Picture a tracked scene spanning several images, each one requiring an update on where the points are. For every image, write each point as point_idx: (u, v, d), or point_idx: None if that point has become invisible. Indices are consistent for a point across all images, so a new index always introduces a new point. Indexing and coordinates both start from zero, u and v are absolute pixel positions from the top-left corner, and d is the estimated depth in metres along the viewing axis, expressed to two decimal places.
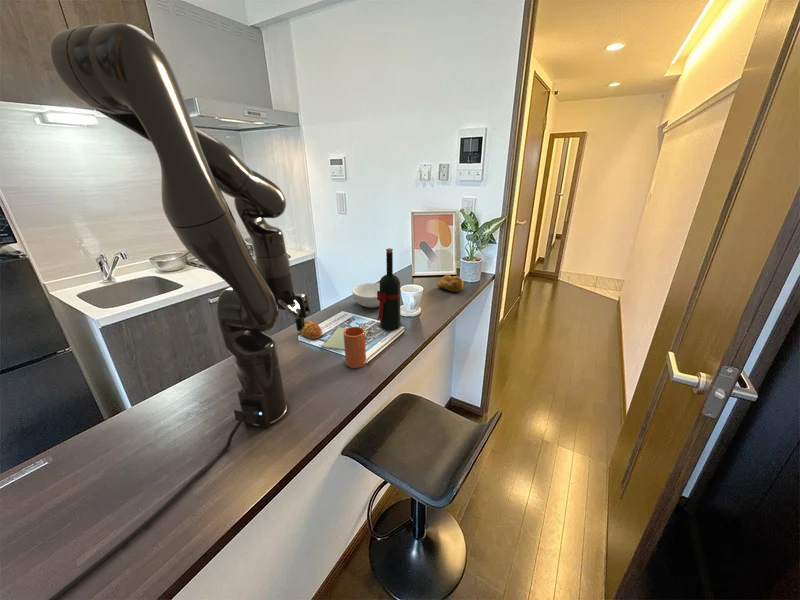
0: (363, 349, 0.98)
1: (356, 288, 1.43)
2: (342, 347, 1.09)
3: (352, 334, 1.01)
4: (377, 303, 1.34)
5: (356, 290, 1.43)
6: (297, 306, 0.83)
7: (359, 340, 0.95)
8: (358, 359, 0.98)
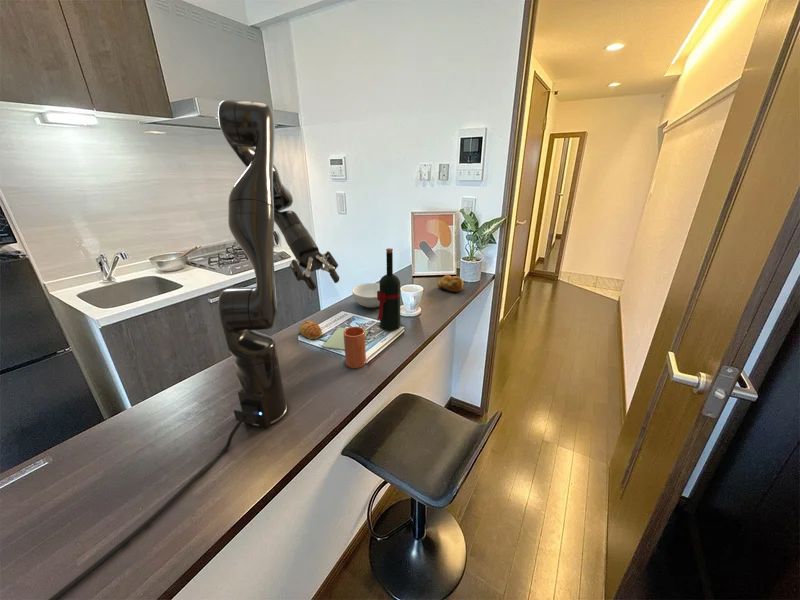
0: (363, 349, 0.98)
1: (356, 288, 1.43)
2: (342, 347, 1.09)
3: (352, 334, 1.01)
4: (377, 303, 1.34)
5: (356, 290, 1.43)
6: None
7: (359, 340, 0.95)
8: (358, 359, 0.98)
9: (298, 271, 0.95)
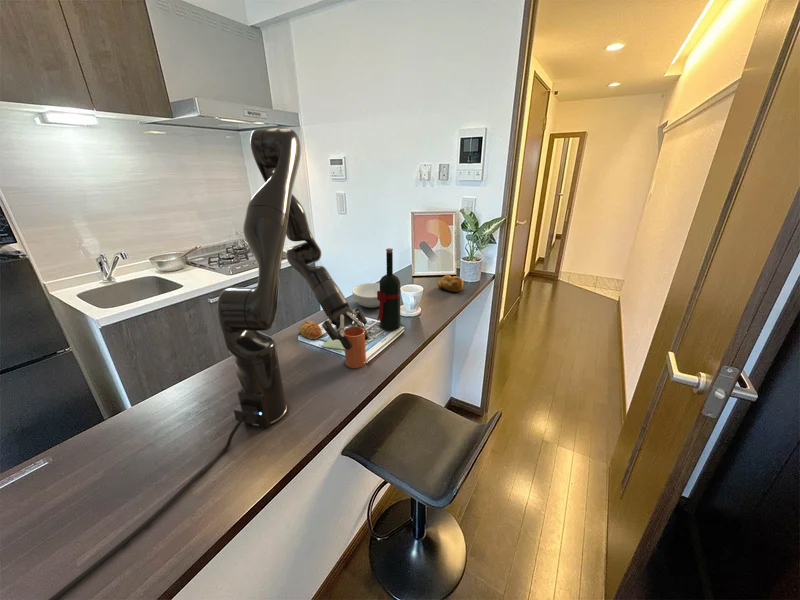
0: (363, 349, 0.98)
1: (356, 288, 1.43)
2: (342, 347, 1.09)
3: (352, 334, 1.01)
4: (377, 303, 1.34)
5: (356, 290, 1.43)
6: None
7: (359, 340, 0.95)
8: (358, 359, 0.98)
9: (333, 332, 0.93)
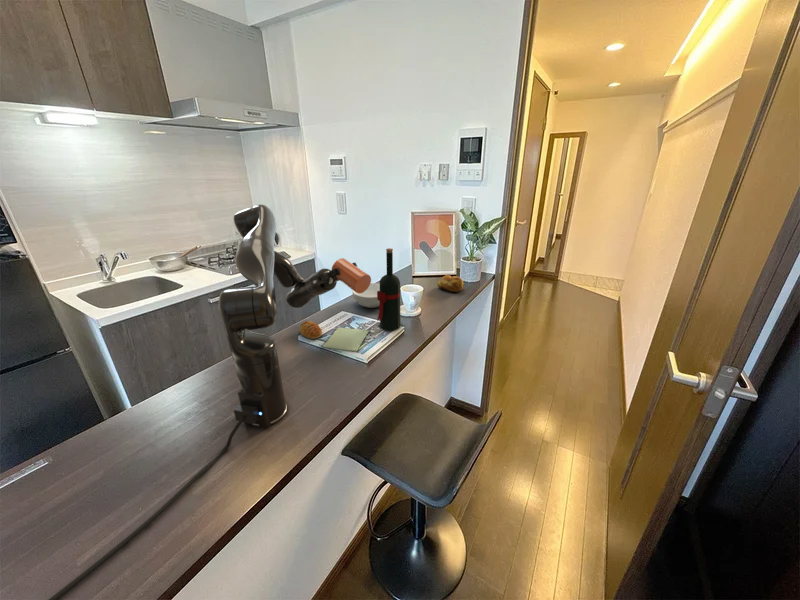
0: (353, 266, 0.97)
1: None
2: (342, 347, 1.09)
3: None
4: (377, 303, 1.34)
5: None
6: None
7: (341, 261, 0.98)
8: (354, 272, 0.95)
9: (319, 275, 0.99)
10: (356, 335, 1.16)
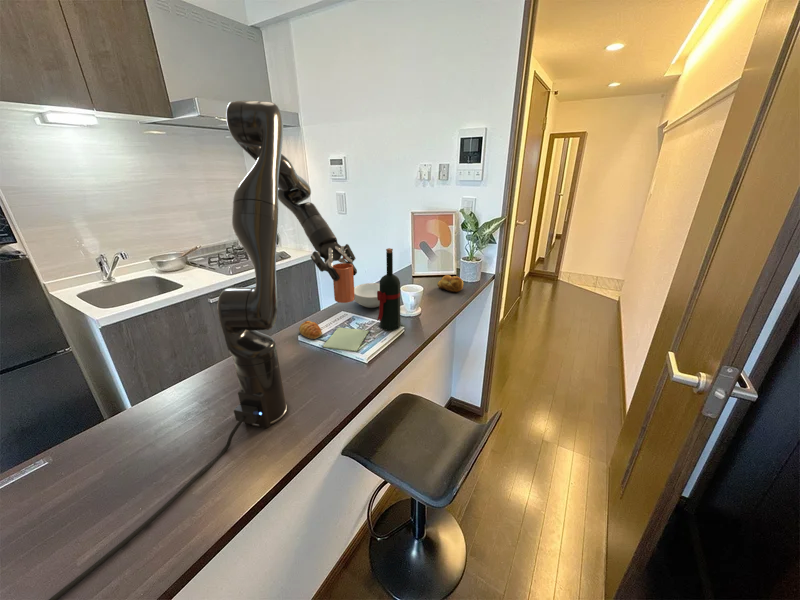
0: (351, 284, 1.00)
1: (356, 288, 1.43)
2: (342, 347, 1.09)
3: None
4: (377, 303, 1.34)
5: (356, 290, 1.43)
6: None
7: (347, 273, 0.98)
8: (346, 293, 1.00)
9: (321, 262, 0.96)
10: (356, 335, 1.16)
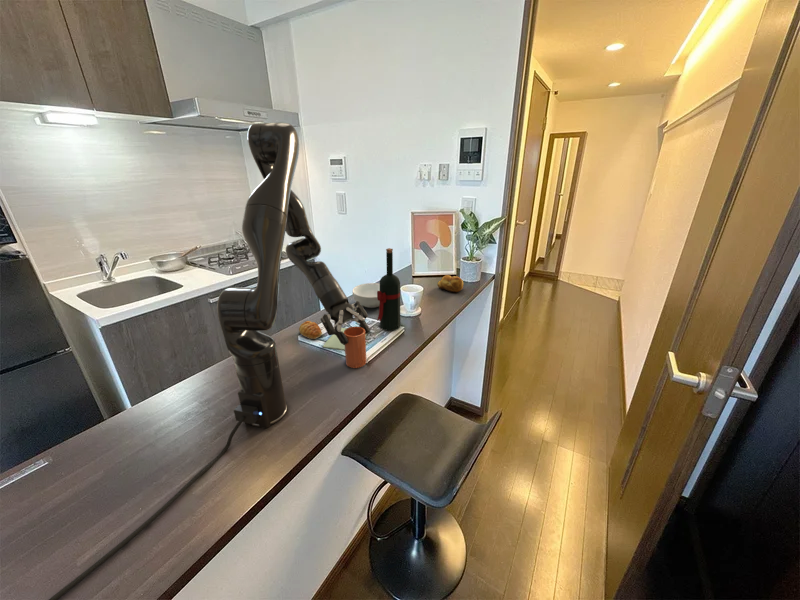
0: (363, 349, 0.98)
1: (356, 288, 1.43)
2: (342, 347, 1.09)
3: (352, 334, 1.01)
4: (377, 303, 1.34)
5: (356, 290, 1.43)
6: None
7: (359, 340, 0.96)
8: (358, 359, 0.98)
9: (330, 326, 0.93)
10: None
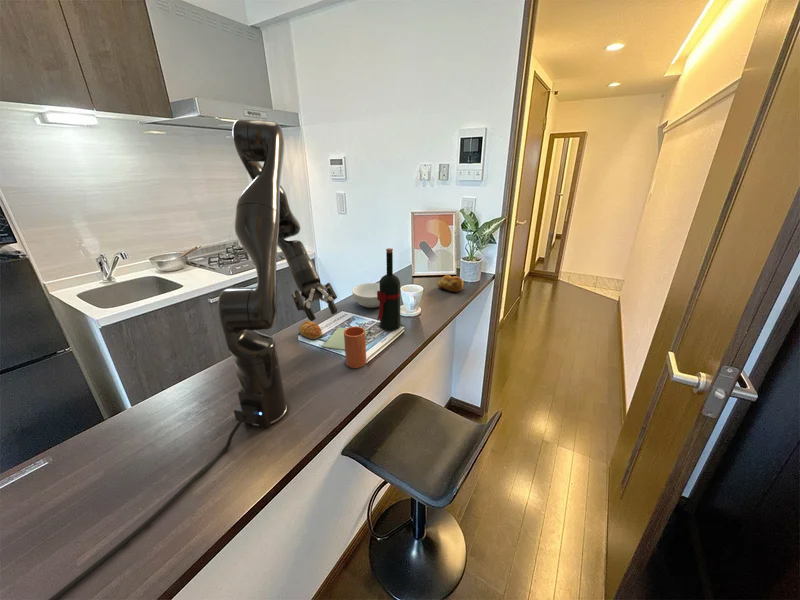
0: (363, 349, 0.98)
1: (356, 288, 1.43)
2: (342, 347, 1.09)
3: (352, 334, 1.01)
4: (377, 303, 1.34)
5: (356, 290, 1.43)
6: None
7: (359, 340, 0.96)
8: (358, 359, 0.98)
9: (300, 302, 0.99)
10: None
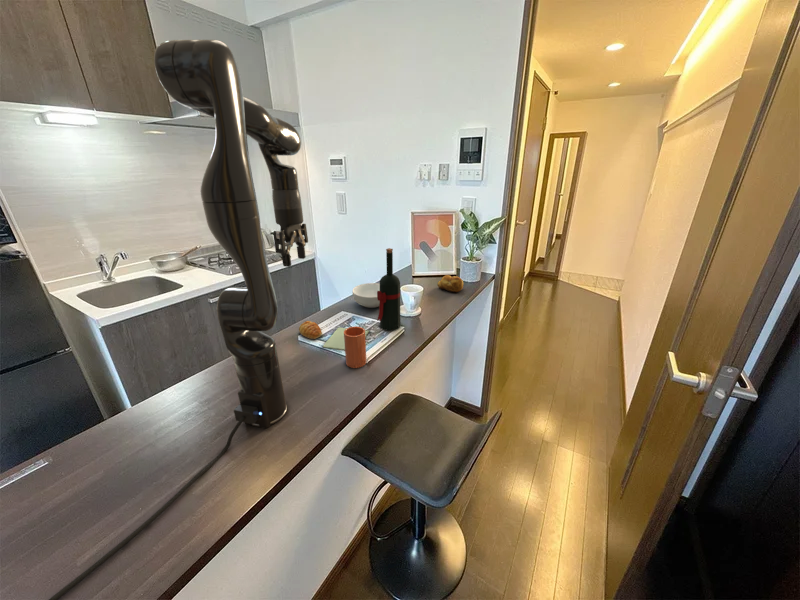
0: (363, 349, 0.98)
1: (356, 288, 1.43)
2: (342, 347, 1.09)
3: (352, 334, 1.01)
4: (377, 303, 1.34)
5: (356, 290, 1.43)
6: None
7: (359, 340, 0.96)
8: (358, 359, 0.98)
9: (283, 246, 0.88)
10: None
